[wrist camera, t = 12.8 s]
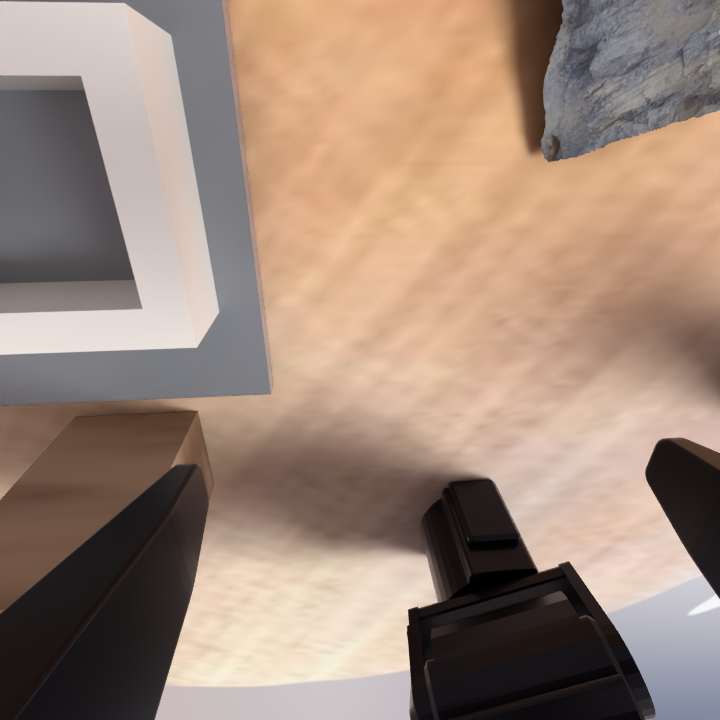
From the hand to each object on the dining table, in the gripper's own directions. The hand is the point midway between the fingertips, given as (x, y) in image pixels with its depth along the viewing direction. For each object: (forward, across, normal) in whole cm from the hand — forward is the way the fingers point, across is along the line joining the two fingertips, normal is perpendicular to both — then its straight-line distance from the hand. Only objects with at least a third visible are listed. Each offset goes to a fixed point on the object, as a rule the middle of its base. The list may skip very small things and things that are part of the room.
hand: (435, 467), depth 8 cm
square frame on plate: (+12, +12, -4) cm, 17 cm away
